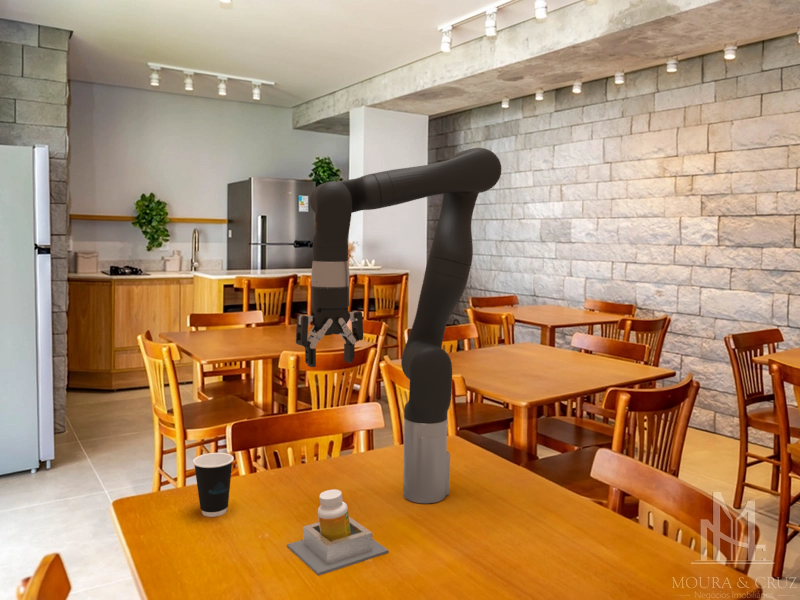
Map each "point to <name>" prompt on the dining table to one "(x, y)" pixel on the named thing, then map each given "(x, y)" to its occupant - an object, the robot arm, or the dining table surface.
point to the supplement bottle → (333, 516)
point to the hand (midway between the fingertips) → (330, 364)
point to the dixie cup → (213, 482)
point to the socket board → (335, 548)
